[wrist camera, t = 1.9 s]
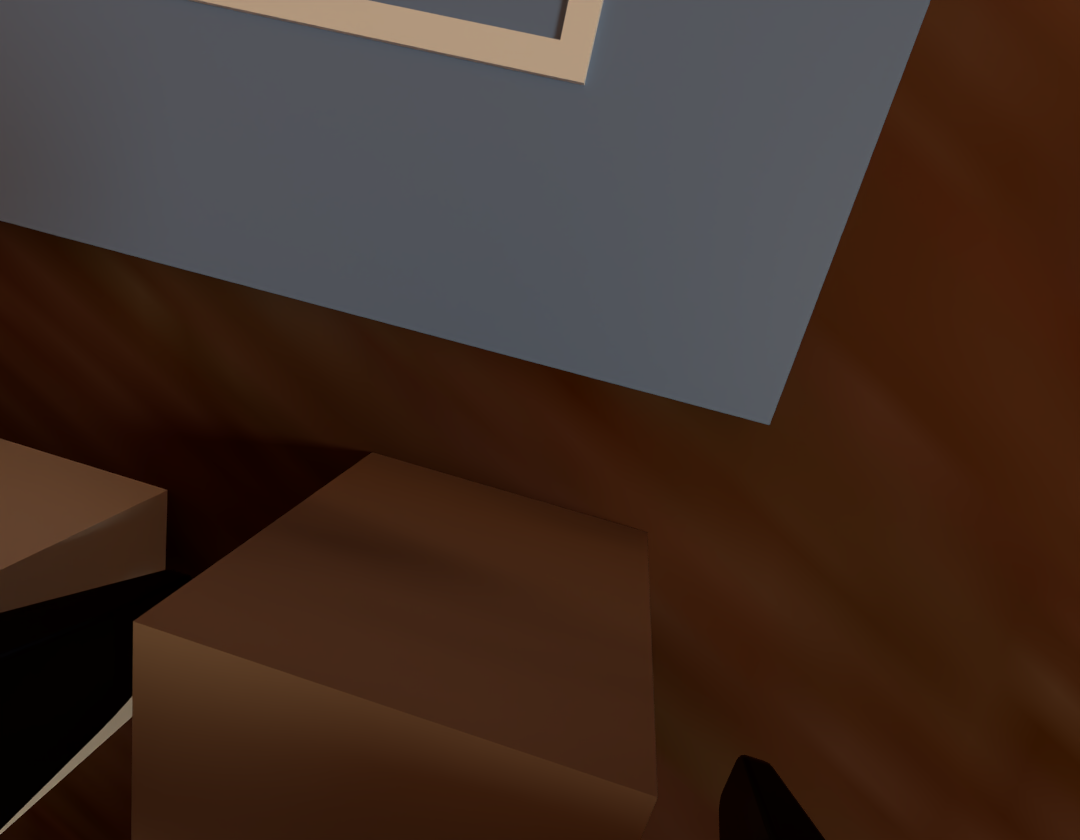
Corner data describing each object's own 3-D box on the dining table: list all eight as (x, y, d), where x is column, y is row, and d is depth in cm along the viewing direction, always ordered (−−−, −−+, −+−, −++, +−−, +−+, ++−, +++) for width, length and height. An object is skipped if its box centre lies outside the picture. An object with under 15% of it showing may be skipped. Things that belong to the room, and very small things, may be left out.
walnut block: (575, 749, 11) (528, 1120, 6) (340, 671, 11) (129, 961, 7) (647, 530, 9) (657, 797, 5) (374, 450, 10) (132, 621, 5)
